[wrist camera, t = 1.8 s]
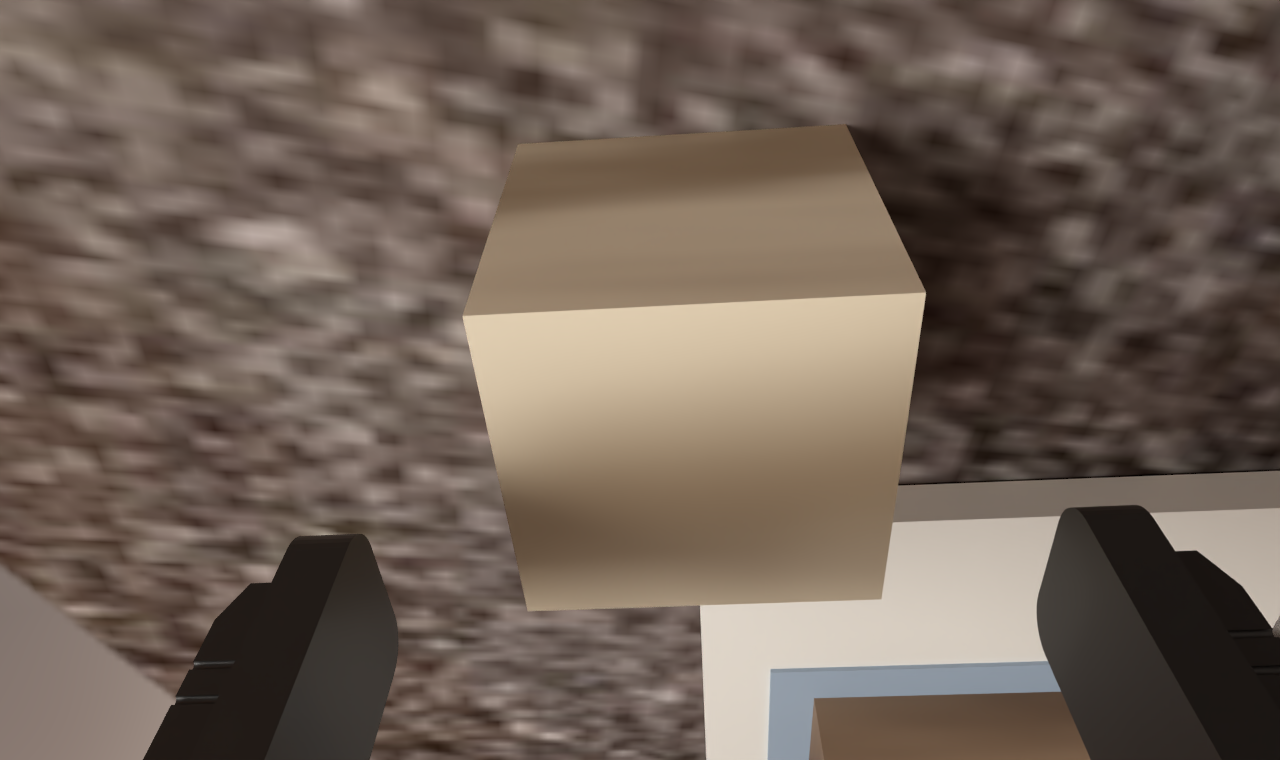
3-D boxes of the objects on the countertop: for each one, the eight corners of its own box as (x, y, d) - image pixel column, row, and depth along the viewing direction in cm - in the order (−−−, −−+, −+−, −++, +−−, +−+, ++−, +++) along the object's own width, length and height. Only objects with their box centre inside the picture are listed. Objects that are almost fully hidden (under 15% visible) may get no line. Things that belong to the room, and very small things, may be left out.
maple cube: (518, 142, 14) (462, 316, 10) (844, 122, 13) (926, 292, 9) (558, 397, 17) (528, 610, 13) (825, 385, 16) (881, 599, 12)
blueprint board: (695, 493, 18) (697, 533, 17) (1309, 469, 17) (1344, 509, 16) (710, 868, 27) (712, 907, 26) (1107, 861, 27) (1122, 900, 26)
